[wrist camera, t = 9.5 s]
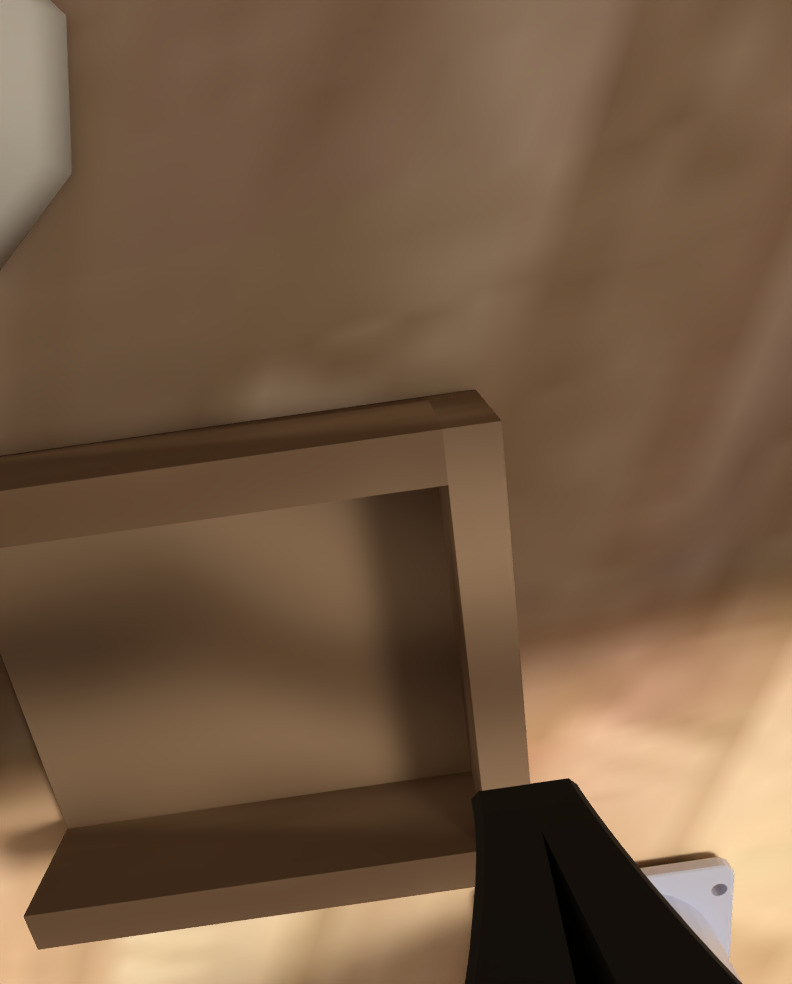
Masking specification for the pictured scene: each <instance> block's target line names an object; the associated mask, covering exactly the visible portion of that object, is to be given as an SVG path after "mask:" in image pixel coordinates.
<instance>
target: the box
mask: <svg viewBox="0 0 792 984" xmlns="http://www.w3.org/2000/svg"><path fill="white" fill-rule="evenodd" d="M0 654H1V657H2V659H3V662H4V664H5V667H6V670H7V672H8V675H9V677H10V680H11V683H12V685H13V688H14V690H15V693H16V696H17V698H18V701H19V703H20V706H21V709H22V711H23V714H24V716H25V719H26V722H27V724H28V727H29V729H30V732H31V735H32V737H33V740H34V742H35V745H36V748H37V750H38V753H39V755H40V758H41V761H42V763H43V766H44V768H45V771H46V774H47V776H48V779H49V781H50V784H51V787H52V789H53V792H54V795H55V797H56V800H57V802H58V805H59V808H60V810H61V813H62V815H63V818H64V821H65V823H66V826H67V828H68V829H67V831H66V833H65V835H64V837H63V839H62V841H61V843H60V845H59V847H58V849H57V851H56V853H55V855H54V857H53V859H52V861H51V863H50V865H49V867H48V869H47V871H46V873H45V875H44V877H43V879H42V881H41V883H40V885H39V887H38V889H37V891H36V893H35V895H34V897H33V899H32V901H31V903H30V905H29V907H28V909H27V911H26V913H25V915H24V919H25V921H26V923H27V926H28V928H29V930H30V932H31V935H32V937H33V939H34V942H35V944H36V946H37V948H38V949H45V948H52V947H59V946H66V945H73V944H80V943H87V942H94V941H101V940H108V939H115V938H122V937H129V936H136V935H143V934H150V933H157V932H164V931H171V930H178V929H185V928H192V927H199V926H206V925H213V924H219V923H226V922H233V921H240V920H247V919H254V918H261V917H268V916H275V915H282V914H289V913H296V912H303V911H310V910H317V909H324V908H331V907H338V906H345V905H352V904H359V903H366V902H373V901H380V900H387V899H394V898H401V897H408V896H415V895H421V894H428V893H435V892H442V891H449V890H456V889H463V888H470V887H475V875H476V837H475V829H474V820H473V812H472V803H471V799H472V798H473V797H474V796H475V795H476V793H477V792H478V791H484V790H491V789H498V788H505V787H512V786H519V785H526V784H530V776H529V763H528V751H527V738H526V725H525V713H524V700H523V687H522V674H521V662H520V649H519V636H518V624H517V611H516V598H515V585H514V573H513V560H512V547H511V535H510V522H509V509H508V497H507V484H506V471H505V458H504V446H503V433H502V421H501V420H500V418H499V417H498V416H497V415H496V414H495V412H494V411H493V410H492V409H491V408H490V406H489V405H488V404H487V403H486V402H485V400H484V399H483V398H482V397H481V396H480V394H479V393H478V392H477V391H476V390H471V391H463V392H456V393H449V394H442V395H435V396H428V397H420V398H413V399H406V400H399V401H392V402H385V403H377V404H370V405H363V406H356V407H349V408H342V409H335V410H327V411H320V412H313V413H306V414H299V415H292V416H284V417H277V418H270V419H263V420H256V421H249V422H241V423H234V424H227V425H220V426H213V427H206V428H198V429H191V430H184V431H177V432H170V433H163V434H156V435H148V436H141V437H134V438H127V439H120V440H113V441H105V442H98V443H91V444H84V445H77V446H70V447H62V448H55V449H48V450H41V451H34V452H27V453H19V454H12V455H5V456H0Z"/></svg>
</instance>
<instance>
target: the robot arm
mask: <svg viewBox="0 0 792 984" xmlns="http://www.w3.org/2000/svg"><path fill="white" fill-rule="evenodd" d="M471 803H472V812H473V820H474V829H475V837H476V875H475V895H474V907H473V918H472V929H471V941H470V950H469V959H468V966H467V973H466V980H465V984H742V982H741V980H740V979H739V977H738V975H737V973H736V971H735V969H734V967H733V965H732V963H731V961H730V945H731V926H732V908H733V890H734V871H733V869H732V868H731V866H730V864H729V863H728V862H727V861H726V859H723V858H720V857H713V858H706V859H700V860H693V861H686V862H679V863H672V864H665V865H658V866H651V867H644V868H639V867H638V866H637V864H636V863H635V862H634V861H633V859H632V858H631V857H630V856H629V854H628V853H627V852H626V850H625V849H624V848H623V847H622V845H621V844H620V843H619V842H618V840H617V839H616V838H615V837H614V835H613V834H612V833H611V831H610V830H609V829H608V827H607V826H606V825H605V823H604V822H603V821H602V819H601V818H600V817H599V815H598V814H597V813H596V811H595V810H594V808H593V807H592V806H591V804H590V803H589V801H588V800H587V799H586V797H585V796H584V794H583V793H582V791H581V790H580V788H579V787H578V785H577V784H576V783H574V782H573V781H571V780H570V779H569V778H568V779H561V780H554V781H547V782H540V783H533V784H526V785H519V786H512V787H505V788H498V789H491V790H484V791H478V792H477V793H476V795H475V796H474V797H473V798H472V799H471Z"/></svg>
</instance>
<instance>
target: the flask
mask: <svg viewBox="0 0 792 984" xmlns="http://www.w3.org/2000/svg"><path fill="white" fill-rule="evenodd" d="M71 174H72V163H71V136H70V110H69V83H68V56H67V29H66V15H65V14H64V13H63V12H62V11H61V10H60V9H59V8H58V7H57V6H55V5H54V4H53V3H52V2H51V1H50V0H0V270H1V268H2V267H3V266H4V264H5V263H6V262H7V260H8V259H9V258H10V256H11V255H12V254H13V252H14V251H15V250H16V248H17V247H18V245H19V244H20V243H21V241H22V240H23V239H24V237H25V236H26V235H27V233H28V232H29V231H30V229H31V228H32V227H33V225H34V224H35V223H36V221H37V220H38V218H39V217H40V216H41V214H42V213H43V212H44V210H45V209H46V208H47V206H48V205H49V204H50V202H51V201H52V200H53V198H54V197H55V196H56V194H57V193H58V191H59V190H60V189H61V187H62V186H63V185H64V183H65V182H66V181H67V179H68V178H69V177H70V175H71Z"/></svg>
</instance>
